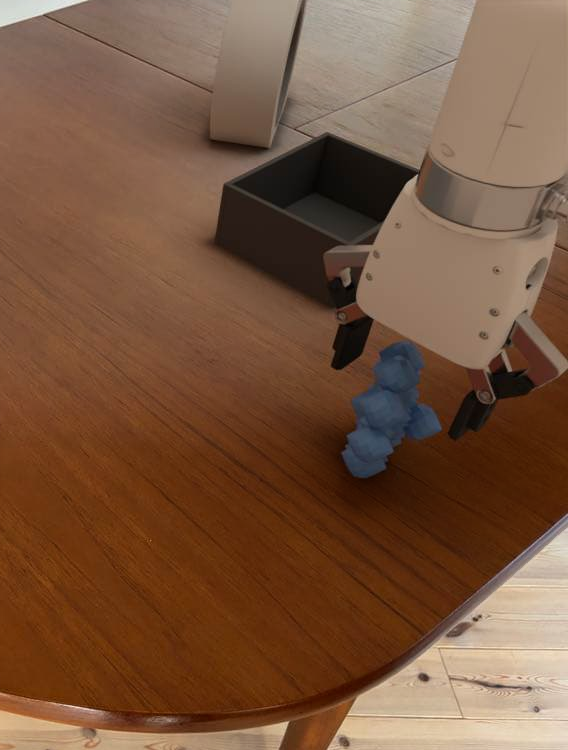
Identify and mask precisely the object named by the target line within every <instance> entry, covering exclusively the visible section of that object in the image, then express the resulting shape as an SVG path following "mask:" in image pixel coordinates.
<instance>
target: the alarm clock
mask: <svg viewBox="0 0 568 750" xmlns="http://www.w3.org/2000/svg"><path fill="white" fill-rule="evenodd" d="M307 5H308V0H230V4H229V7H228V12H227V15H226V18H225V24H224V28H223V33H222V37H221V43H220V47H219V52H218V53H219V54H218V57H217V64H216V69H215V74H214V75H215V76H214V82H213V87H212V88H213V89H212V95H211V97H212V98H211V106H210V119H209V120H210V121H209V135H210V139H211V140H212V141H219V142H225V143H234V144H238V145H246V146H253V147H259V148H266V149H270V148H271V146H272V142H273V140H274V137H275V134H276V133H277V132H276V131H277V128H278V126H279V123H280V120H281V118H282V114H283V112H284V108H285V106H286V103H287V99H288V95H289V91H290V88H291V87H290V86H291V82H292V77H293V74H294V69H295V65H296V60H297V56H298V53H299V46H300V42H301V37H302V33H303V26H304V21H305V16H306V12H307Z"/></svg>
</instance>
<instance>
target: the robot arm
mask: <svg viewBox="0 0 568 750" xmlns="http://www.w3.org/2000/svg"><path fill="white" fill-rule="evenodd" d="M567 171H568V0H476V1H475V4H474V6H473V10H472V13H471V16H470V19H469V21H468V25H467V28H466V31H465V34H464V37H463V40H462V43H461V46H460V49H459V51H458V54H457V59H456V60H455V64H454V67H453V69H452V73H451V76H450V79H449V82H448V85H447V88H446V90H445V93H444V96H443V99H442V103H441V106H440V109H439V111H438V115H437V118H436V121H435V123H434V126H433V129H432V133H431V136H430V138H429V141H428V144H427V147H426V150H425V152H424V155H423V159H422V162H421V165H420V168H419V173H418V175H416V176H415V177H414V178H413V179H411V180H410V181H408V182H407V183H406V185H405V186H404V188H403V190H402V191H401V193H400V194H399V196H398V198H397V199H396V201H395V203H394V204H393V206H392V208H391V210H390V212H389V214H388V215H387V217H386V219H385V221H384V223H383V225H382V227H381V229H380V231H379V233H378V235H377V237H376V239H375V242H374V244H373V245H347V246H335V247H334V248H332V249H330V250H329V251H327V252H325V253H324V255H323V259H324V264H325V269H326V275H327V277H328V278H329V282H328V283H327V289H328V291H329V294H330V296H331V298H332V300H333V302H334V304H335V306H336V307H335V308H336V311H335V312H334V319H335V320H336V322H337V323H338V327H337V330H336V334H335V336H334V340H333V343H332V347H331V348H332V350H333V351H334V354H333V357H332V360H331V363H330V367H331V368H332V369H333V370H335V371H341V370H343V369H345V368H346V367H347V366H348V365H349V366H350V364H352V363H353V362H354V361H356V360H357V359H358V358H360V357H361V356H362V355H363V353H364V350H365V347H366V345H367V341H368V338H369V335H370V332H371V329H372V327H373V323H374V321H376V322H378V323H379V324H381V325H383V326H384V327H387V328H388V329H390V330H392V331H394V332H396V333H397V334H399V335H402V336H403V337H405V338H407V339H409V340H411V342H414V343H416V344H418V345H420V346H421V347H423V348H426V349H427V350H429V351H430V352H433V353H435V354H436V355H439V356H440V357H442V358H444V359H446V360H448V361H450V362H452V363H454V364H456V365H458V366H460V367H462V368H463V367H464V368H465V370H466V372H467V375H468V378H469V380H470V384H471V386H472V390H471V391H470V392H468V393H466V395H465V396H464V397H463V399H462V401H461V404H460V406H459V408H458V410H457V412H456V414H455V417H454V418H453V421H452V423H451V425H450V427H449V429H448V431H447V435H448V438H449V439H451V440H452V441H454V442H457V441H459V440H460V439H461V438H462V437H463V436H465V434H467V433H468V432H469V431H470V430H471V431H472V432H474V433H478V432H479V431H480V430H482V429H483V428H484V427H485V425H486V424H487V423H488V421H489V419H490V417H491V416H492V414H493V412H494V409H495V408H496V406H497V404H498V401H499V400H505V399H512V398H517V397H518V398H519V397H525V396H528V395H529V394H530V393H531V392H533V391H535V390H537V389H540V388H542V387H544V386H546V385H547V384H550V383H551V382H553V381H555V380H557V379H558V378H560V377H561V376H562V375H563V374H564V373H565V372H566V371H568V359H567V358H566V357H565V356H564V355H563V354H562V353H561V351H560V350H559V348H557V346H556V345H555V344H554V343H553V342H552V341H551V339H549V338H548V336H547V335H546V334H545V333H544V332H543V331H542V329H541V328H540V327H539V326H538V325H537V323H536V322H535V321H534V320H533V319H532V318H531V316H532V314H533V312H534V309H535V307H536V304H537V301H538V300H539V295H540V293H541V291H542V288H543V285H544V282H545V279H546V276H547V273H548V270H549V267H550V263H551V260H552V256H553V253H554V250H555V245H556V240H557V236H558V229H559V222H558V220H560V221H562V222H565V223H568V192H567V191H566V189H567V185H566V183H567V181H568V173H567ZM350 267H364V269H363V271H362V274H361V277H360V280H359V284H358V286H357V284H356V281H355V279H354V277H353V276H352V275H351V274H350V271H351V269H350ZM514 346H515V348H517V350H518V351H519V352H520V353H521V355H523V357H524V358H525V359H526V360H527V361H528V362H529V365H530V367H528V368H522V369H518V370H517V369H516V370H513V369H512V365H511V362H510V360H509V359H510V358H508V354H507V351H506V348H507V349H510V350H511V349H512V348H513V347H514ZM505 347H506V348H505Z"/></svg>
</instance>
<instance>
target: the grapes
mask: <svg viewBox="0 0 568 750" xmlns="http://www.w3.org/2000/svg"><path fill="white" fill-rule="evenodd" d="M420 352H421V351H420V350H419V348H418V347H417V345H416V344H414V343H413V342H412V341H408V340H407V339H404V340H400V341H397V342H394V343H391V344H390V345H388V346H386V347H385V348H383V349H382V350H380V351H378V355H379V357H380V358H379V359H378V360H376V361H375V362H376V364H375V365H374V366H372V367H371V369H372V372H373V375H374V377H375V380H373V384H371V385H370V386H368V387H367V388H366V390H365V391H363V392H361V393H359V394H357V395H356V396H354V397H352V398H351V399H349V402H350V404H351V407H352V408H353V412H354V414H355V416H356V417H357V418H356V419H355V420H354V421H355V425H356V427H355V429H356V430H353V431H352V432H350V433H348V434H347V435H346V439H347V441H348V443H346V444H345V445H344V447H345V450H343V451H341V452H340V453H341V456H342V459H343V461H344V464H345V466H346V468H347V470H348V471H349V473H350V474H351V475H352V476H353V477H354V478H358V479H368V478H370V477H372V476H375V475H377V474H379V473H381V472H383V471H384V470H386V469H387V466H386V463H387V462H389V458H388V456H389V455H391V454H392V453H394V452H395V451H394V448H395V447H397V446H399V445H402V441H403V437H406V438H408V440H412V441H422V440H425V439H428V438H430V437H432V436H434V435H436V434H438V433H439V432H442V430H443V428H442V424H441V423H440V421H439V418H438V416H437V414H436V412H435V411H434V409H433V408H432V407H430V406H429V405H427V404H425V403H418V400H419V399H418V397H420V396H421V395H420V393H419V391H418V388H417V387H416V386H418V385H419V384H421V380H420V376H422V374H421V370H422V369H424V368H426V363H425V361H424V358H423V356H422V354H421V353H420Z"/></svg>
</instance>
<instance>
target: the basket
mask: <svg viewBox="0 0 568 750" xmlns="http://www.w3.org/2000/svg"><path fill="white" fill-rule="evenodd" d="M419 170H420V168H416V167H414V166H411V165H410V164H407V163H404V162H402V161H400V160H396V159H394V158H392V157H390V156H387V155H384V154H382V153H379V152H378V151H375V150H372V149H370V148H367V147H365V146H362V145H360V144H358V143H356V142H353V141H351V140H349V139H346V138H343V137H342V136H338V135H336V134H334V133H331V132H329V131H325V132H323V133H321V134H320V135H317V136H316V137H314V138H312V139H309V140H308V141H305V142H304V143H302V144H300V145H297V146H296V147H294V148H292V149H290V150H287V151H286V152H283V153H282V154H280V155H278V156H276V157H273V158H272V159H270V160H268V161H266V162H264V163H262V164H260V165H258V166H256V167H254V168H252V169H250V170H248V171H246V172H244V173H242V174H240V175H238V176H236V177H233V178H232V179H230V180H228V181H226V182H225V183H223V184H222V191H221V197H220V202H219V203H220V204H219V208H218V209H219V210H218V216H217V223H216V229H215V236H214V244H215V245H216V246H219V247H220V248H222V249H224V250H226V251H228V252H229V253H232V254H233V255H235V256H237V257H238V258H240V259H243V260H244V261H246V262H248V263H249V264H252V265H253V266H255V267H257V268H258V269H260V270H262V271H264V272H266V273H267V274H270V275H271V276H273V277H275V278H277V279H279V280H281V282H284V283H286V284H287V285H290V286H291V287H293V288H295V289H297V290H299V291H300V292H303V293H304V294H306V295H307V296H309V297H311V298H313V299H315V300H317V301H319V302H320V303H322V304H324V305H326V306H328V307H329V308H331V309H335V308H336V306H335V304H334V302H333V300H332V298H331V296H330V294H329V291H328V289H327V283H328V282H329V278H328V277H327V275H326V269H325V264H324V259H323V255H324V253H325V252H327V251H329V250H330V249H332V248H334V247H335V246H347V245H373V244H374V242H375V239H376V237H377V235H378V233H379V231H380V229H381V227H382V225H383V223H384V221H385V219H386V217H387V215H388V214H389V212H390V210H391V208H392V206H393V204H394V203H395V201H396V199H397V198H398V196H399V194H400V193H401V191H402V190H403V188H404V186H405V185H406V183H407V182H408V181H410V180H411V179H413V178H414V177H415V176H416V175H418V173H419ZM350 269H351V271H350V274H351V275H352V276H353V277H354V279H355V281H356V284H357V286H358V284H359V280H360V277H361V274H362V271H363V269H364V267H350Z"/></svg>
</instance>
